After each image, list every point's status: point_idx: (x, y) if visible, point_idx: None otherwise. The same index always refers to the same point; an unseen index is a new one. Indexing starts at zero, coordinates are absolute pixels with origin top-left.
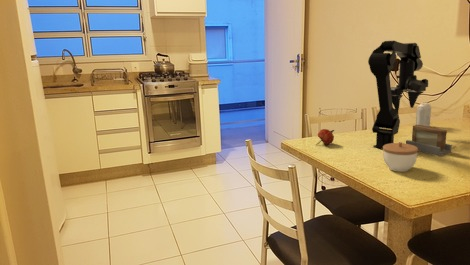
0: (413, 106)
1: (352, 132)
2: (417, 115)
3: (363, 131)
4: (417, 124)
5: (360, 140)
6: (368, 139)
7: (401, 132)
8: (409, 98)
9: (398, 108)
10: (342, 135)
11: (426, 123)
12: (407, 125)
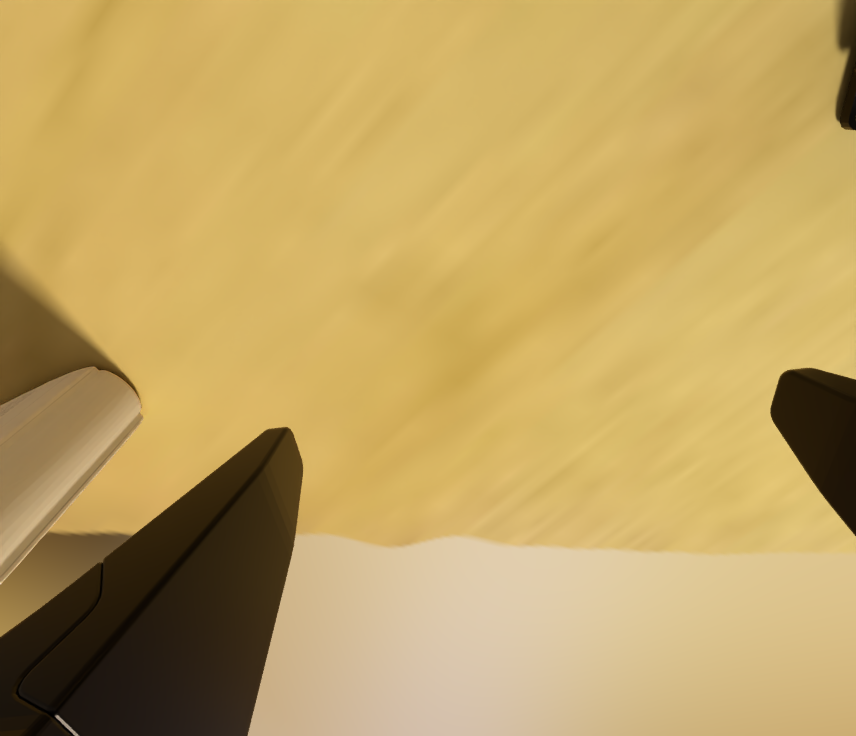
0: (257, 439)
1: (642, 542)
2: (50, 505)
3: (559, 531)
4: (113, 428)
5: (823, 354)
6: (748, 347)
7: (333, 390)
8: (237, 729)
9: (844, 383)
10: (768, 515)
11: (5, 410)
12: (138, 522)
